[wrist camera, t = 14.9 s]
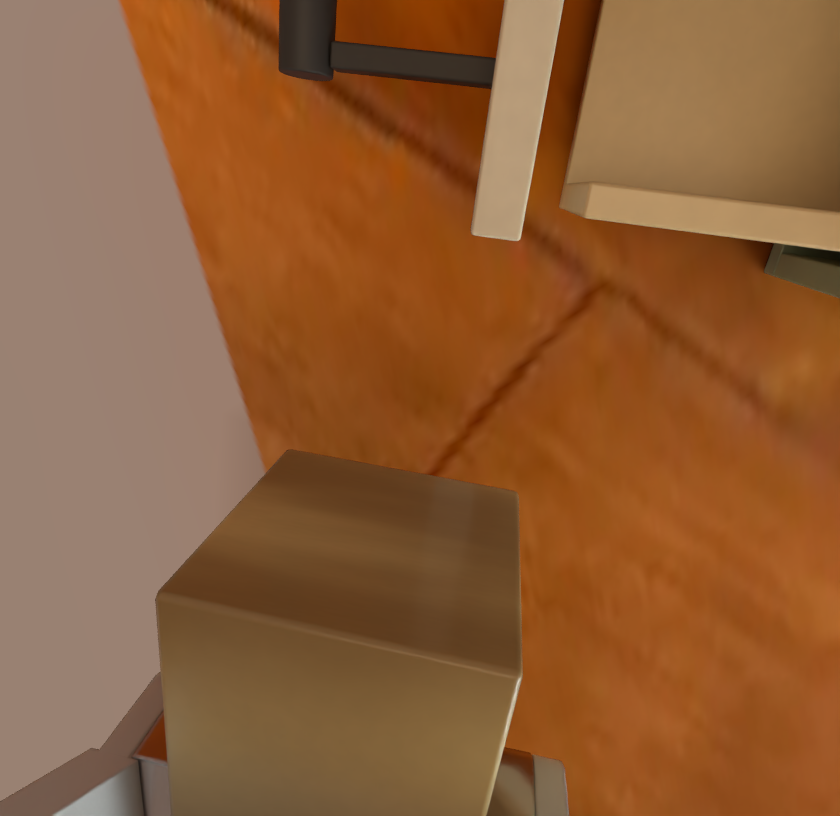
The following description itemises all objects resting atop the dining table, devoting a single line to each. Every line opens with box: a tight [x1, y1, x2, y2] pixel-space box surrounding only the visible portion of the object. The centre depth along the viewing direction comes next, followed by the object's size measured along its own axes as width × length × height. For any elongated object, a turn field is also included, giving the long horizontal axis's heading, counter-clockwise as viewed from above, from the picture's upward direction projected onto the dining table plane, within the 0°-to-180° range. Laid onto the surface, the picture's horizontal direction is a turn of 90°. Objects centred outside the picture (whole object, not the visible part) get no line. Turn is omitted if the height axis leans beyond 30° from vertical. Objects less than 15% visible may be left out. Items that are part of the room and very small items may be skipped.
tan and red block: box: [155, 450, 523, 816], centre depth 9 cm, size 9×4×4 cm, turn 173°
